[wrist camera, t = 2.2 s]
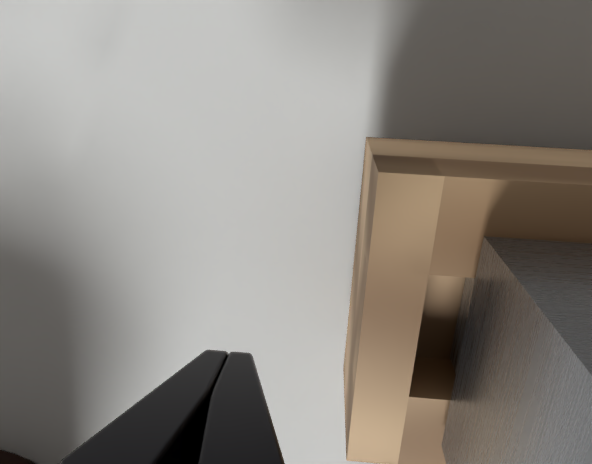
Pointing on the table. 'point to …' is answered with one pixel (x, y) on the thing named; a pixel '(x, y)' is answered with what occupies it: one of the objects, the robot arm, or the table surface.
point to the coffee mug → (12, 458)
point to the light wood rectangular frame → (437, 273)
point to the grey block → (523, 357)
